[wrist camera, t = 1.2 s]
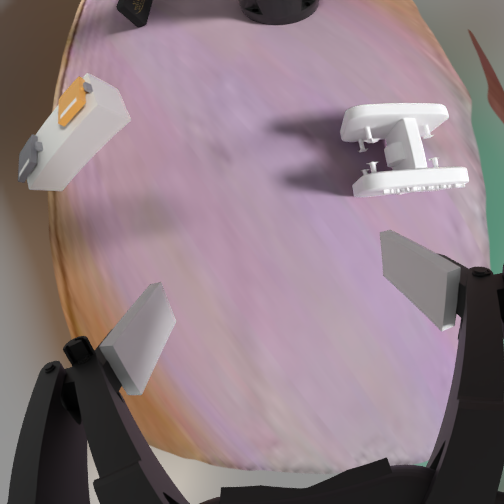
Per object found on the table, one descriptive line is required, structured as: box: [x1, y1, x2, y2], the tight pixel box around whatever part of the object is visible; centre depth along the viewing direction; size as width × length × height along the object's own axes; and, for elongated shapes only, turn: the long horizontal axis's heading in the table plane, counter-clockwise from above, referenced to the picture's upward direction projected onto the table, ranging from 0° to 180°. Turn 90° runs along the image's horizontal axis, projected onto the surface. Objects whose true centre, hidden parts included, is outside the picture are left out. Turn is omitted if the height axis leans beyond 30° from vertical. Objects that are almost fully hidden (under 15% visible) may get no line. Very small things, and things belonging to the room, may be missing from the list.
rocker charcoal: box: [18, 134, 38, 182], centre depth 38 cm, size 8×6×2 cm
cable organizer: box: [340, 103, 469, 197], centre depth 30 cm, size 15×11×12 cm
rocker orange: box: [58, 77, 86, 127], centre depth 34 cm, size 8×6×2 cm
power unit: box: [27, 73, 131, 191], centre depth 42 cm, size 10×24×12 cm, turn 120°
